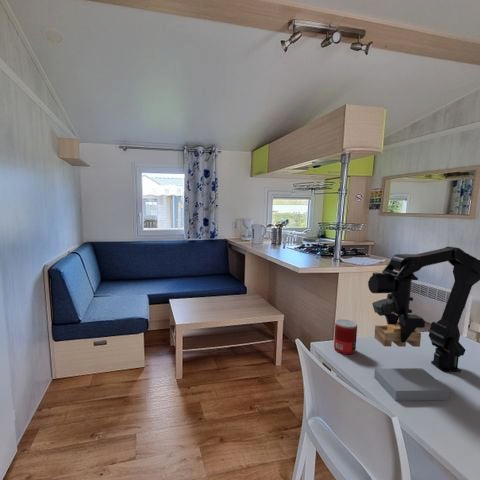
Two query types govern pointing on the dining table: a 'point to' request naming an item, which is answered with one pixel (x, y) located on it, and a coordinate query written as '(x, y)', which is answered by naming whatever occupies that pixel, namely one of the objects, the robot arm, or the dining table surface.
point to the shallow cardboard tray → (395, 337)
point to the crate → (393, 328)
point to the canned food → (345, 336)
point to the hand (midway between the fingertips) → (396, 337)
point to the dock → (411, 384)
